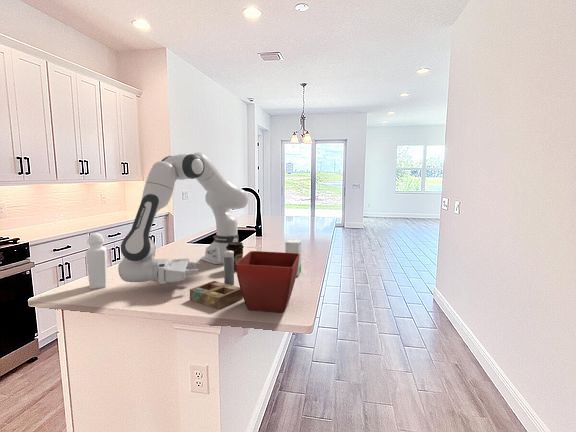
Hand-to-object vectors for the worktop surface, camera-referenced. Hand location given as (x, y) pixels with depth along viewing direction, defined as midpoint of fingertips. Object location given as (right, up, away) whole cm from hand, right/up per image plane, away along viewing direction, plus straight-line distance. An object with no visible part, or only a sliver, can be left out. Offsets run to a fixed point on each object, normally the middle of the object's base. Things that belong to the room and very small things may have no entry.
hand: (199, 268), depth 132 cm
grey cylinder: (+12, -7, +3) cm, 14 cm away
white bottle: (-41, -8, 0) cm, 42 cm away
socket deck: (+10, -9, -13) cm, 19 cm away
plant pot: (+30, -10, -18) cm, 36 cm away
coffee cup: (+11, -5, +25) cm, 28 cm away
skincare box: (+39, -6, +19) cm, 44 cm away
